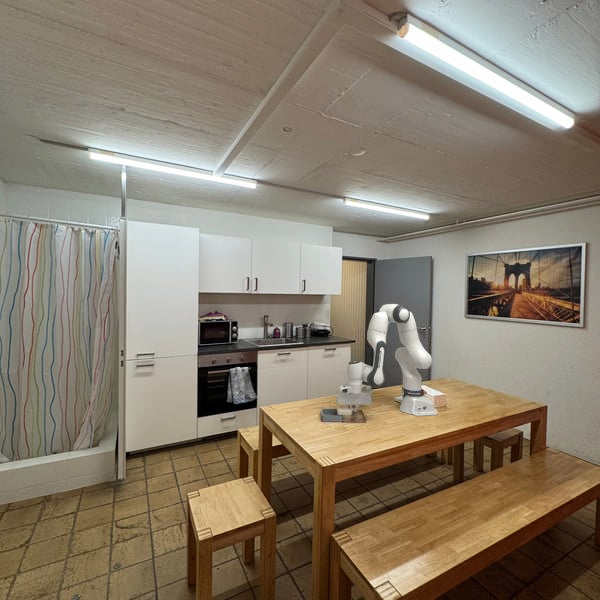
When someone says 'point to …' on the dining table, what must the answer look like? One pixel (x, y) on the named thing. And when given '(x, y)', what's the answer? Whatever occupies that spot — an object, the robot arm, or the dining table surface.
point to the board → (354, 417)
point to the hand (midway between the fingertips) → (353, 411)
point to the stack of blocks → (364, 388)
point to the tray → (330, 415)
